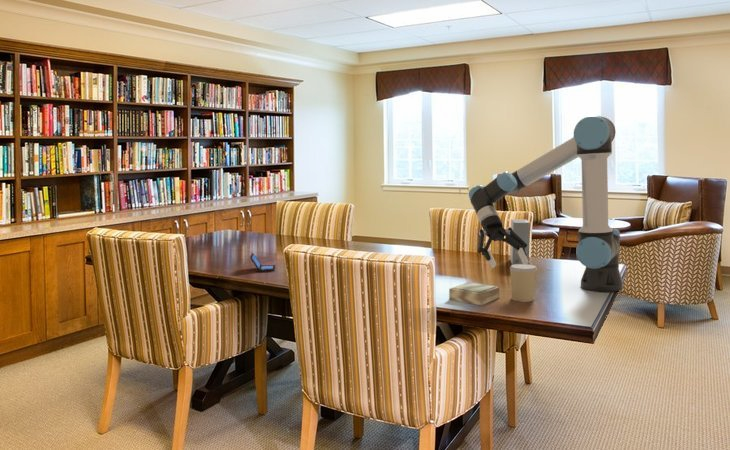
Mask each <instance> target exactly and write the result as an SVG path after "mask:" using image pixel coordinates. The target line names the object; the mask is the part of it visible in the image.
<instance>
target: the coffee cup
mask: <svg viewBox="0 0 730 450" xmlns="http://www.w3.org/2000/svg"><path fill="white" fill-rule="evenodd" d="M509 270H510V272H509V273H510V274H509V275H510V290H511V299H512V300H513V301H515V302H523V303H525V302H528V303H529V302H533V301H534V300H535V295H536V294H535V293H536V283H537V281H536V279H537V270H538V269H537V266H536V265H534V264H530V263H529V264H514V265H512V264H511V265H510V267H509Z"/></svg>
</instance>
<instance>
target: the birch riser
mask: <svg viewBox="0 0 730 450" xmlns="http://www.w3.org/2000/svg"><path fill="white" fill-rule="evenodd" d="M448 295H449V297H448V298H449V299H448V300H450V301H454V302H455V301H456V302H461V303H466V304H472V305H478V306H483V305H485V304H489V303H490V302H493V301H495V300H497V299H500V287H499V286H495V285H489V284H482V283H477V282H470V281H469V282H465V283H462V284H459V285H456V286H453V287H449V293H448Z"/></svg>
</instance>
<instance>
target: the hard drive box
mask: <svg viewBox="0 0 730 450" xmlns="http://www.w3.org/2000/svg"><path fill="white" fill-rule="evenodd" d="M530 226H531V223H530V221H529V220H528V219H523V218H522V219H516V218H513V219H512V218H511V219H510V227H511V228H512V230H513V232H514V233H516V234H517V235H518V236H519V237H520V238H521V239H522V240H523V241H524V242H525V243H526V244H527V247H526V248H525V249H524V250H525V252H526V254H527V256H526V257H527V259H528V261H530V234H531V233H530V230H531V229H530ZM519 248H520V247H519ZM509 259H510V260H509V261H510V262H511V265H514V264H523V263H522V261H521V259H520V257H519V254H518V250H517V249H515V248H514V247H512V246H511V245H510V256H509ZM528 264H530V262H528Z"/></svg>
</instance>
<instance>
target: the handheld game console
mask: <svg viewBox="0 0 730 450" xmlns="http://www.w3.org/2000/svg"><path fill="white" fill-rule="evenodd" d="M249 258H250V260H251V263H252V264H253V265H254V266H255V268H256V269H257V273H266V272H265V271H274V270H276V267H275V266H276V264H264V265H262V264H261V263H260V260H259V259H258V258H257V256H256V255H255V253H253V252H252V253H251V254H250V256H249ZM274 272H275V271H274Z"/></svg>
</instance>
